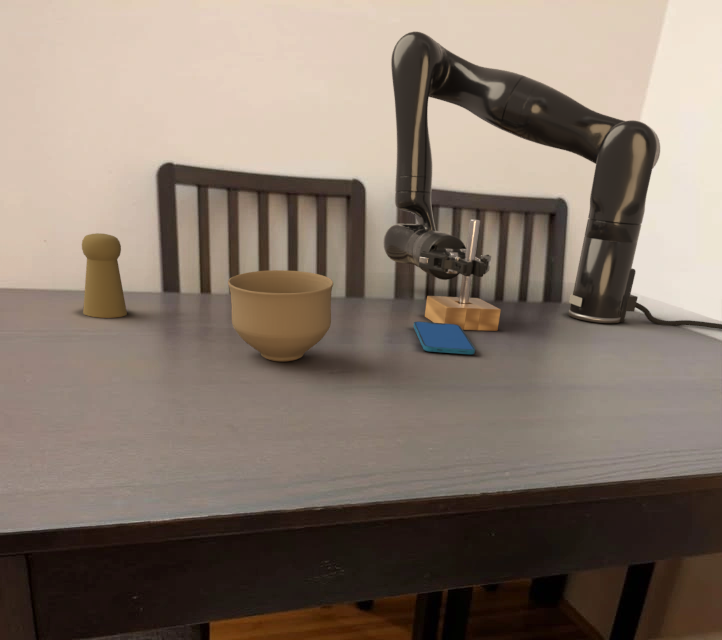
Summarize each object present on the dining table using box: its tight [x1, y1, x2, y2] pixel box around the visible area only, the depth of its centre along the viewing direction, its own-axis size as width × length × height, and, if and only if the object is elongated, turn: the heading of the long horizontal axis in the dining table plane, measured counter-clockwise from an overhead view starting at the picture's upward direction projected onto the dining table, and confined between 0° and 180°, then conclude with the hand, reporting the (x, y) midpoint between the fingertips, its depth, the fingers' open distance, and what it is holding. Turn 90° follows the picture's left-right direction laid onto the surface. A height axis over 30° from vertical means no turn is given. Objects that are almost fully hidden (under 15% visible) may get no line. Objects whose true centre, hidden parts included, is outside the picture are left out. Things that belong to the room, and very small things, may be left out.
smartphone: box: [413, 321, 476, 355], centre depth 108 cm, size 7×1×15 cm
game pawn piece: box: [81, 232, 128, 319], centre depth 104 cm, size 6×6×11 cm
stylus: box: [458, 219, 481, 304], centre depth 118 cm, size 2×2×16 cm
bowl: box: [227, 269, 334, 363], centre depth 89 cm, size 13×13×10 cm
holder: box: [424, 295, 502, 332], centre depth 121 cm, size 9×9×4 cm
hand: (475, 269), depth 115 cm, fingers closed on stylus, 1 cm apart
